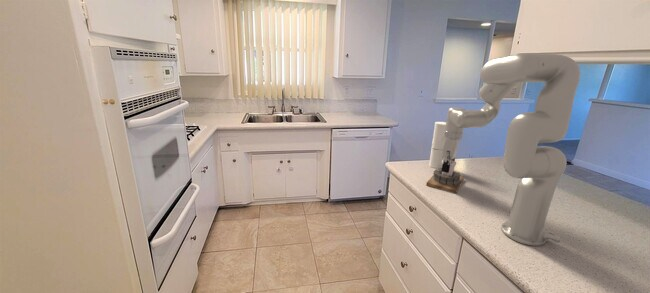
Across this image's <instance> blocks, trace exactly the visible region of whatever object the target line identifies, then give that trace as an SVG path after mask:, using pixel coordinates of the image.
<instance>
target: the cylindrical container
mask: <svg viewBox="0 0 650 293" xmlns="http://www.w3.org/2000/svg"><path fill="white" fill-rule="evenodd" d="M433 128H434V129H433V135H432V142H431V149H430V156H429V164H428V166H429V167H430V168H433V169H435V170H436V169H442V160H444V158H442V157H441V156H442V151H443V146H444V142H445V139H446V138H445V137H444V134H445V128H446V122H445V121H435V122H434V127H433Z"/></svg>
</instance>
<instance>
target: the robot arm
mask: <svg viewBox="0 0 650 293" xmlns="http://www.w3.org/2000/svg"><path fill="white" fill-rule="evenodd" d="M479 75H480V80H481V82H483V83H484V84H483V85H482V86H481V87H480V88H479V90H478V95H479V97H480V99H481V100H482V101H483V102H484V103H485V105H483V106H482V107H481V109H471V110H469V109H467V110H466V108H463V107H457V106H456V107H454V106H452V107H449V108H448V110H447V117H446V128H445V134H444V137H445V138H446V139H445V142H444V146H443V151H442V156H441V157H442V158H444V160H443V164H442V168H441V169H442V170H441V171H442V172H446V173H449V169H450V165H449V164H450V161H451V160H453V161H455V162H456V156H457V153H458V148H459V142H460V140H462V139H463V134H464V130H465V129H472V128H475V129H477V128H483V127H486V126H488V125H489V124H490V123H491V122H492V121H493V120H495V119H496V117H497V116H498V115H499V112H500V109H501V101H502V100H504V98H505V97H506V96H507V95H508V94H510V92H511V91H512V90H513V89H514V88H515V87H516V86H517V85H518V84H519V83H543V84H545V85H544V86H543V87H542V88H541V90H540V91H539V93H538V95H537V98H536V102H535V108H534V111H532V112H531V111H528V112H523V113H519V114H518V115H516V116H515V117H514V118H513V119H512V120H511V122H510V123H509V125H508V129H507V133H506V138H505V139H506V140H505V146H504V154H503V160H502V161H503V162H502V163H503V167H504V170H505V172H506V173H507V174H508V175H509V176H510V177H512V178H515V179H519V181H518V184H517V186H516V189H515V193H514V198H513V201H512V205H511V209H510V214H509V217H508V221H505V222H503V223H502V224H501V228H500V229H501V231H502V233H503V234H504V235H505V236H506V237H507V238H509V239H511V240H513V241H515V242H518V243H520V244H523V245H528V246H533V247H534V246H535V247H537V246H543V245H545V244H546V242H547V240H551V241H553V242H557V243H560V242H561V236H560V235H559V236H558V235H556V232H555V231H552V230H547V229H546V228H545V223H546V220H547V218H548V217H547V216H548V213H549V211H550V206H551V203H552V200H553V197H554V194H555V191H556V188H557V186H558V183H559V182H560V180H561V178H562V176H563V175H564V172H565V170H566V168H567V164H568V163H567V161H568V160H567V157H566V155H565V153H564V152H563V151H562V150H561V149H559V148H557V147H553V146H548V145H547V146H546V145H541V146H539V145H538V144H549V143H557V142H560V141H561V140H563V139H564V138H565V137H566V135H567V134H568V129H569V125H570V121H571V116H572V110H573V106H574V100H575V96H576V92H577V90H578V89H577V88H578V87H579V86H578V85H579V84H580V79H581V68H580V67H579V64H578V63H577V62H576V61H575V60H574V59H573V58H572V57H569V56H566V55H563V54H558V53H557V54H556V53H531V52H530V53H529V52H528V53H527V52H526V53H516V54H512V55H508V56H502V57H501V56H500V57H497V58H493V59H490V60H488V61H486V63H485V64H484V65H483V66H482V67H481V69H480V74H479ZM448 160H449V162H448Z"/></svg>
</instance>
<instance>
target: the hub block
mask: <svg viewBox="0 0 650 293" xmlns="http://www.w3.org/2000/svg"><path fill="white" fill-rule="evenodd" d="M441 170H442V168H441V169H436V168H435V169H434V171H433V175H432V176H431V177H430V178H429V179H428V180H427V181H426V186H427V187H430V188H435V189H439V190H442V191H446V192H450V193H452V194H453V193H454V194H456V193H457V191H458V190H459V188H460V187H461V186H462V183H463V181H464V179H465V177H464V176H461V174H460V172H457V171H455V170H454V171H453V174H452V177H451V176H444V175H442V171H441Z"/></svg>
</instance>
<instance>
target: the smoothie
mask: <svg viewBox="0 0 650 293" xmlns="http://www.w3.org/2000/svg"><path fill="white" fill-rule="evenodd" d="M448 162H449V160H448ZM442 164H443V160H442ZM449 165H450V169H449V173H446V172H442V175H444V176H451V177H452V174H453V171H455V167H456V166H457V162H456V160H455V161H453V160H451V161H450V164H449Z"/></svg>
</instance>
